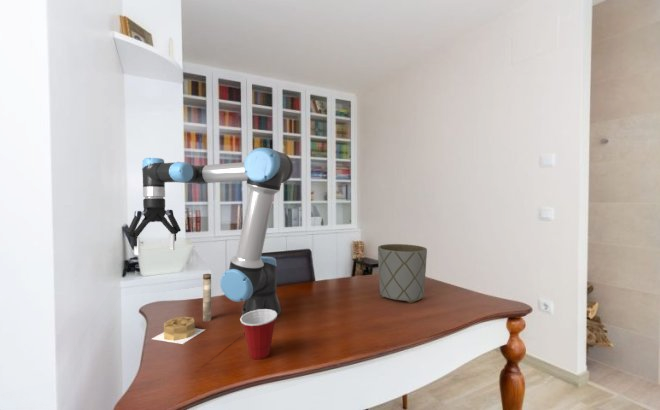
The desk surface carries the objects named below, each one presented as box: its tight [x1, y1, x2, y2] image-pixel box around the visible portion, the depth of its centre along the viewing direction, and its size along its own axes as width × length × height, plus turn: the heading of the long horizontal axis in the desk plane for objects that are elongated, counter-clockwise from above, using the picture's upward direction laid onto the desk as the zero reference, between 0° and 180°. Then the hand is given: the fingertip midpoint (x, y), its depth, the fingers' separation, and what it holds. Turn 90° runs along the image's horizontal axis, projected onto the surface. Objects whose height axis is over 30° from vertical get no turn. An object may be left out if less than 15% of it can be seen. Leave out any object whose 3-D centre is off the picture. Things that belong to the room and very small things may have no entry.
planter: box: [377, 243, 428, 304], centre depth 150 cm, size 23×23×24 cm
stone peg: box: [202, 273, 212, 322], centre depth 117 cm, size 3×3×18 cm
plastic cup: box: [239, 309, 278, 360], centre depth 93 cm, size 11×11×12 cm
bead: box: [163, 316, 196, 341], centre depth 105 cm, size 9×9×4 cm
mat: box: [151, 327, 205, 345], centre depth 105 cm, size 12×11×1 cm
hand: (155, 252), depth 123 cm, fingers open, 13 cm apart
